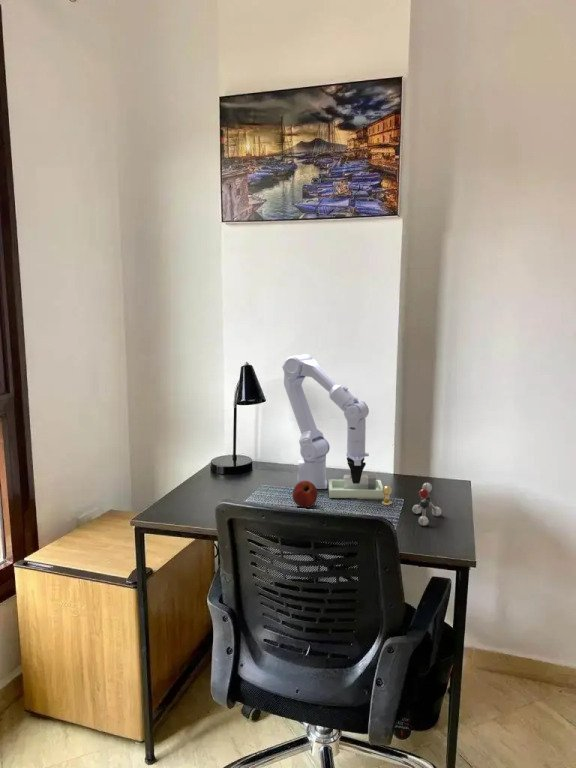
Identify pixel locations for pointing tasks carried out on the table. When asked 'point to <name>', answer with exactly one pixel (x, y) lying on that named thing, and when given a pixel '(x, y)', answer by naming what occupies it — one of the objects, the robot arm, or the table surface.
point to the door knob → (386, 495)
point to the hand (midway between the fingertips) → (355, 481)
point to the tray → (354, 491)
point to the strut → (365, 482)
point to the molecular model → (425, 504)
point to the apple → (305, 494)
